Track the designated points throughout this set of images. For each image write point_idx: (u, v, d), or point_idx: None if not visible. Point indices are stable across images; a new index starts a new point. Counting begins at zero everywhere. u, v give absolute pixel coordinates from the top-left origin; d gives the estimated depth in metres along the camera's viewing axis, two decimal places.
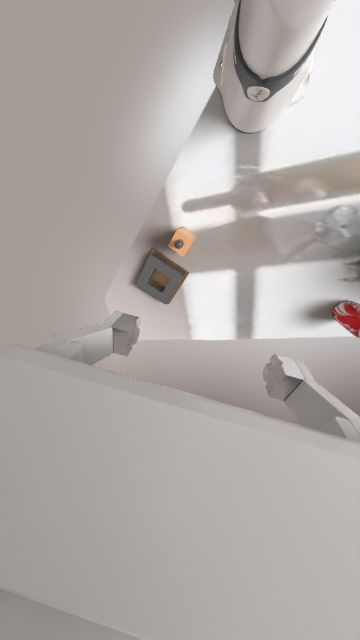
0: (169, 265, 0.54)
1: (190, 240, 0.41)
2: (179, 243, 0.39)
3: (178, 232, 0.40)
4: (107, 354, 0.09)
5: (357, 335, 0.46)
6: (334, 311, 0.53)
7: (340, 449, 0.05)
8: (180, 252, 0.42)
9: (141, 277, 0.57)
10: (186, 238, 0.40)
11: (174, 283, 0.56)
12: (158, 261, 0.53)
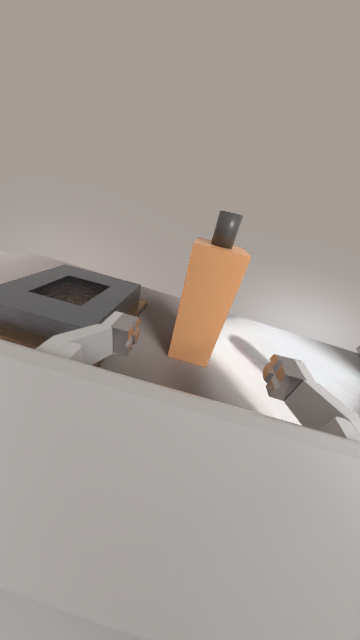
0: None
1: (246, 255, 0.13)
2: None
3: (239, 248, 0.16)
4: (107, 354, 0.09)
5: None
6: None
7: (340, 449, 0.05)
8: (201, 242, 0.14)
9: (85, 271, 0.25)
10: (242, 252, 0.14)
11: (60, 313, 0.16)
12: (128, 291, 0.23)
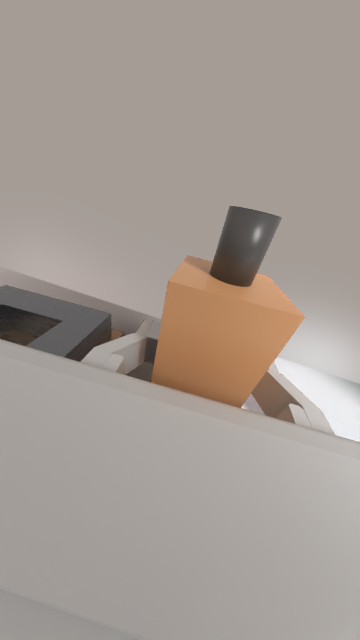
0: None
1: (290, 308, 0.06)
2: None
3: (263, 277, 0.09)
4: (139, 363, 0.09)
5: None
6: None
7: (340, 449, 0.05)
8: (187, 275, 0.06)
9: (32, 295, 0.18)
10: (276, 294, 0.07)
11: None
12: (88, 329, 0.15)
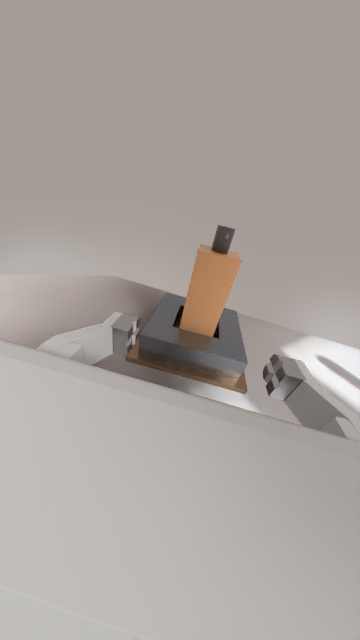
0: None
1: (238, 259, 0.17)
2: (229, 228, 0.17)
3: (234, 253, 0.20)
4: (107, 354, 0.09)
5: None
6: None
7: (340, 449, 0.05)
8: (203, 249, 0.18)
9: None
10: (235, 256, 0.18)
11: (214, 348, 0.19)
12: (235, 320, 0.26)
